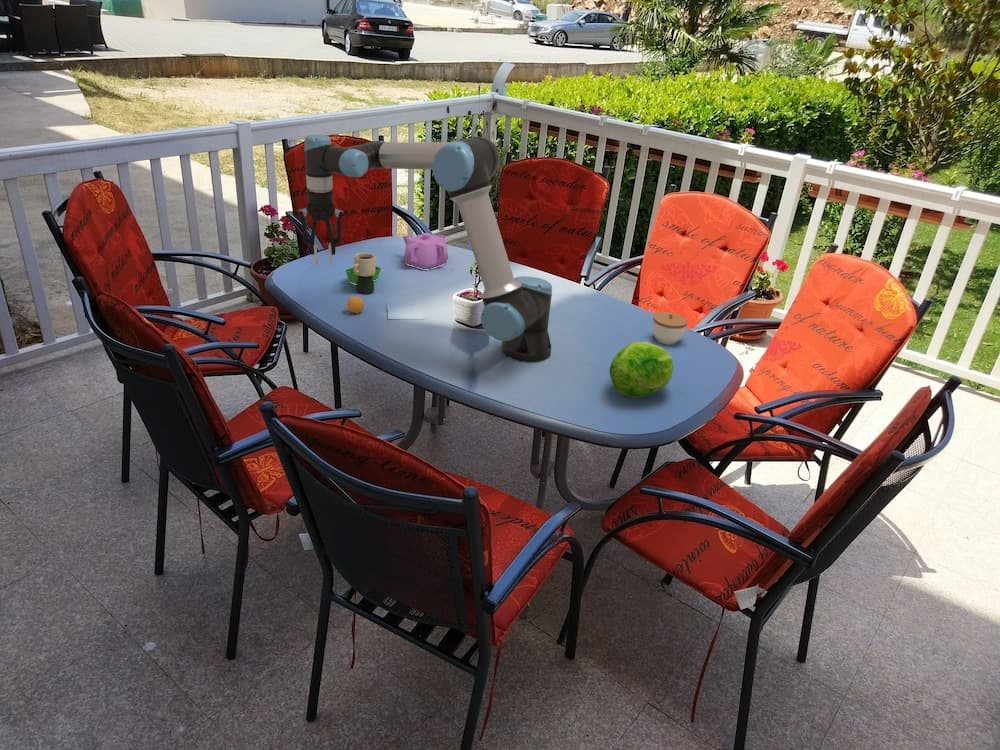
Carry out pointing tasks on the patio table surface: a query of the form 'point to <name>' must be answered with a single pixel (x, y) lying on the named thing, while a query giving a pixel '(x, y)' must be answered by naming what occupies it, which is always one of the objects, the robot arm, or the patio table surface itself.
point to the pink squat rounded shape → (425, 250)
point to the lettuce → (641, 369)
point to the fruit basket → (353, 277)
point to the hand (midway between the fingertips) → (323, 263)
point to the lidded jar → (668, 327)
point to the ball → (355, 304)
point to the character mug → (364, 271)
